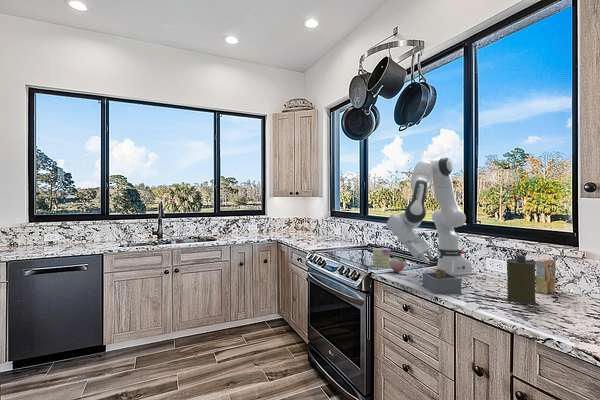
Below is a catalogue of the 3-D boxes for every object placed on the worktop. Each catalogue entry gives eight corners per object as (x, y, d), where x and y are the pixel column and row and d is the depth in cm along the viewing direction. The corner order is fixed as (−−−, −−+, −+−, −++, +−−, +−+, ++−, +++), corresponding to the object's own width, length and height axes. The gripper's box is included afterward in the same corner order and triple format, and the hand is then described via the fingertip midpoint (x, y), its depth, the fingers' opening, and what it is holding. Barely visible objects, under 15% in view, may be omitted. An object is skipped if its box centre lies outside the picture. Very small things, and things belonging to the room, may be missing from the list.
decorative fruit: (386, 272, 190) (386, 256, 190) (393, 270, 196) (393, 254, 196) (400, 274, 183) (400, 258, 183) (407, 272, 189) (407, 256, 189)
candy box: (545, 289, 152) (545, 258, 152) (556, 291, 148) (555, 259, 148) (535, 291, 148) (535, 260, 148) (546, 294, 144) (545, 261, 144)
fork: (425, 269, 200) (425, 266, 200) (404, 263, 218) (404, 260, 218) (429, 269, 201) (429, 266, 201) (408, 262, 220) (408, 260, 219)
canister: (537, 305, 129) (537, 258, 129) (507, 301, 134) (507, 256, 134) (534, 298, 138) (534, 254, 138) (506, 295, 143) (506, 252, 143)
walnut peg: (443, 288, 155) (442, 268, 155) (447, 290, 151) (447, 270, 151) (435, 288, 155) (435, 268, 155) (439, 290, 151) (439, 270, 151)
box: (388, 265, 211) (388, 248, 211) (389, 267, 205) (389, 249, 205) (372, 265, 212) (372, 247, 212) (374, 266, 206) (373, 249, 206)
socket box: (447, 285, 160) (447, 272, 160) (461, 293, 147) (461, 278, 147) (422, 286, 159) (422, 272, 159) (434, 293, 146) (434, 279, 146)
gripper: (408, 238, 152) (429, 259, 146) (420, 234, 169) (440, 253, 163) (399, 246, 155) (420, 268, 149) (412, 241, 171) (431, 260, 165)
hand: (430, 260), depth 156 cm, fingers open, 8 cm apart
